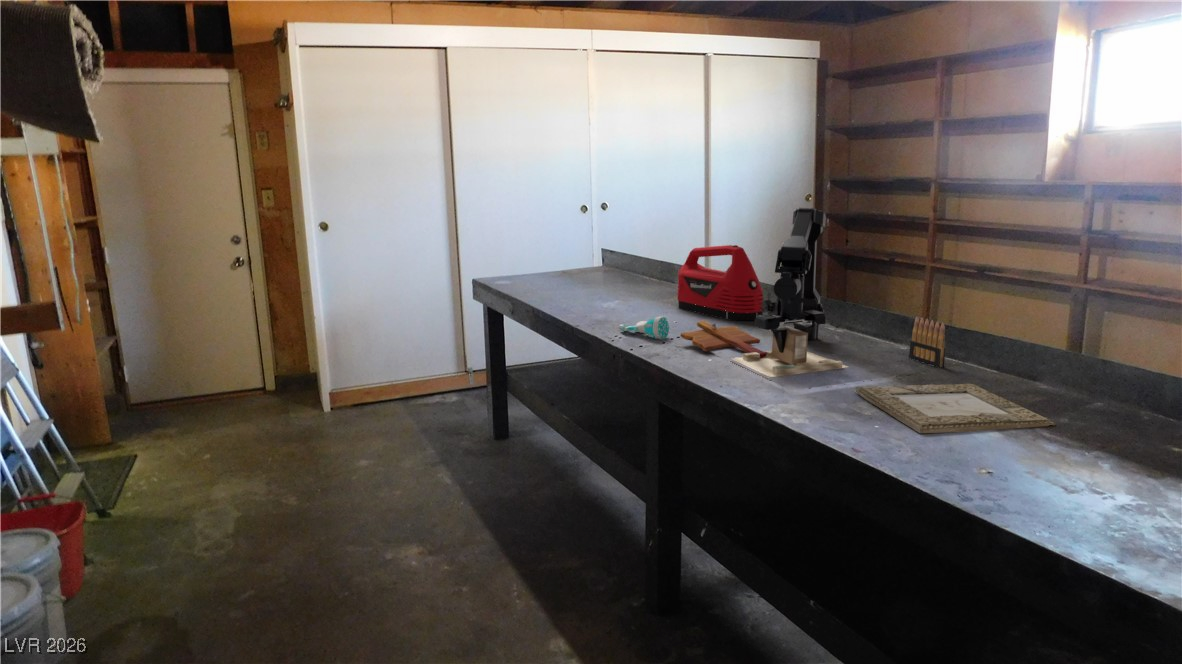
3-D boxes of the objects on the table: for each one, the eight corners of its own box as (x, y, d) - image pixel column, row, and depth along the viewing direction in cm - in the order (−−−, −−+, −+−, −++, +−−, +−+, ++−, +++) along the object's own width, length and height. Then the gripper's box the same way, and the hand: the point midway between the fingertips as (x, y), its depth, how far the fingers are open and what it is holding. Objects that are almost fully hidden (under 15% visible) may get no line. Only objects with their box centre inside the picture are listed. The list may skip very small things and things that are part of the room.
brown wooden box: (785, 354, 199) (787, 326, 197) (807, 363, 191) (808, 333, 189) (771, 356, 198) (773, 327, 196) (792, 365, 189) (793, 334, 187)
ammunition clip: (908, 358, 201) (912, 315, 199) (913, 357, 202) (917, 315, 199) (938, 368, 192) (943, 323, 189) (944, 367, 192) (948, 322, 190)
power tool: (698, 301, 288) (699, 237, 282) (773, 318, 255) (776, 246, 250) (666, 305, 280) (667, 240, 274) (740, 324, 247) (743, 249, 241)
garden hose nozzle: (619, 315, 245) (610, 320, 226) (671, 311, 242) (666, 317, 223) (621, 336, 246) (612, 343, 227) (673, 332, 243) (668, 340, 223)
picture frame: (1055, 429, 150) (1057, 417, 149) (920, 436, 146) (921, 423, 145) (971, 390, 176) (972, 380, 175) (853, 395, 171) (854, 384, 171)
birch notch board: (804, 353, 208) (804, 342, 207) (849, 370, 190) (849, 359, 189) (730, 362, 199) (730, 351, 199) (770, 381, 182) (770, 369, 181)
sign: (789, 363, 205) (725, 330, 230) (791, 342, 203) (727, 311, 228) (732, 372, 197) (673, 337, 222) (734, 351, 195) (674, 318, 220)
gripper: (803, 286, 201) (800, 341, 204) (744, 291, 195) (742, 348, 198) (829, 292, 191) (825, 350, 194) (767, 298, 184) (765, 358, 188)
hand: (789, 351), depth 194 cm, fingers closed on brown wooden box, 4 cm apart
